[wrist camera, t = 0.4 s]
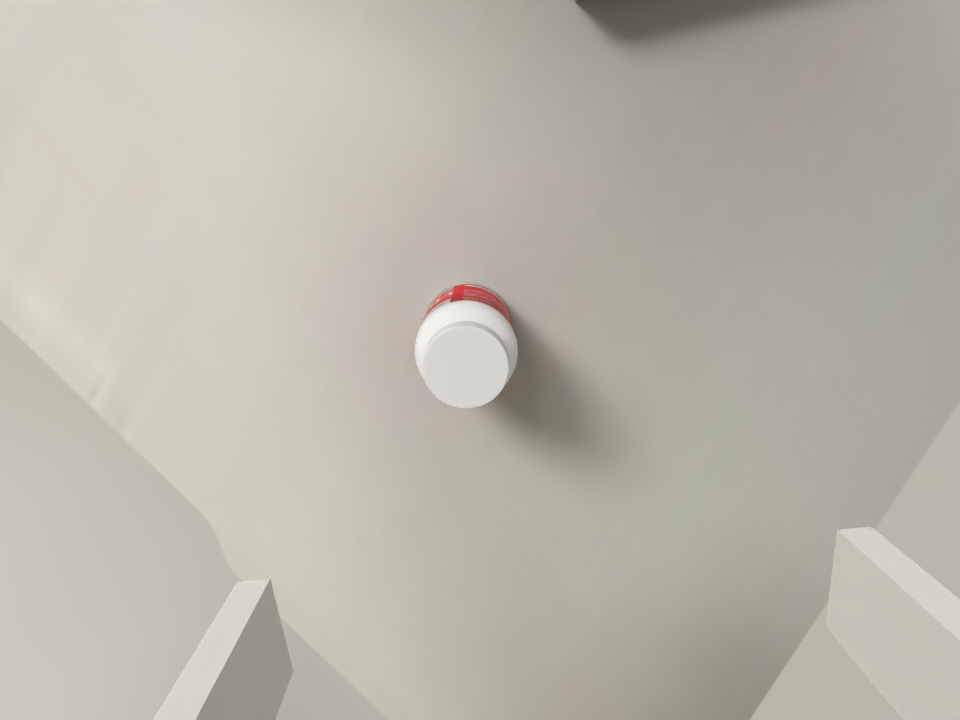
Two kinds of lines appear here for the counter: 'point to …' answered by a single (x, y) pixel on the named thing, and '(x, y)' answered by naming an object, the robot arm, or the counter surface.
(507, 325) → the pill bottle
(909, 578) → the robot arm
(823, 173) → the counter surface
